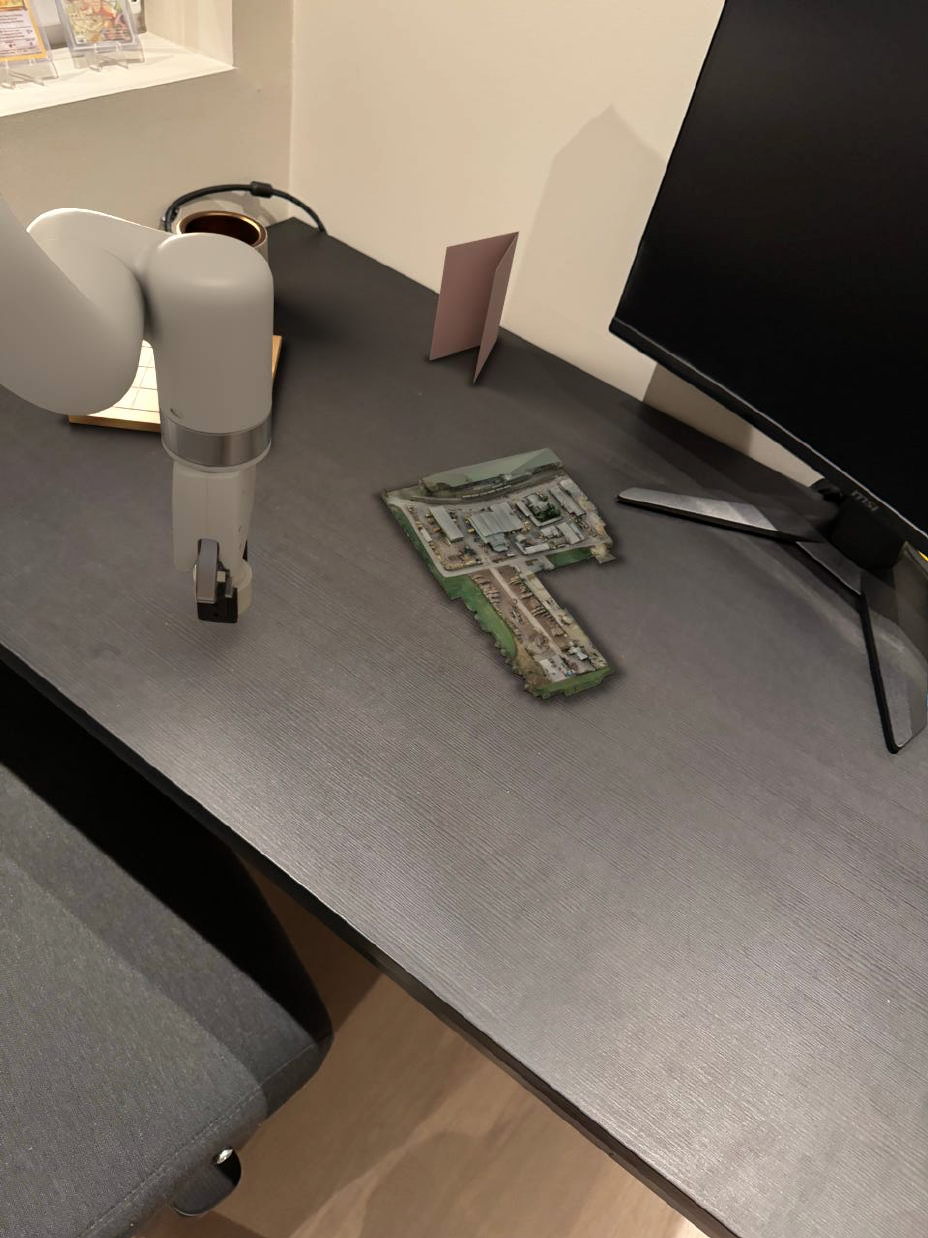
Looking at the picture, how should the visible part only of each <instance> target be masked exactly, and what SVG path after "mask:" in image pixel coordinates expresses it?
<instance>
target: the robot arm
mask: <svg viewBox="0 0 928 1238" xmlns="http://www.w3.org/2000/svg"><path fill="white" fill-rule="evenodd" d="M274 290H275V289H274V277H273V274H272V271H271V268H270V266H269V262H268V263H267V262H266V261H265V259H264V258H263V257H262V255H261V254H260V253H259V252H258V251H256V250H255V249H254V248H252V247H251V246H249V245H248V244H246V243H244V242H242V241H240V240H237V239H235V238H232V237H228V236H224V235H219V234H212V233H188V234H182V235H177V233H173V232H169V231H164V230H160V229H156V228H154V227H150V226H146V225H144V224H140V223H136V222H134V221H129V220H126V219H124V218H120V217H116V216H113V215H109V214H106V213H102V212H99V211H95V210H94V211H93V210H90V209H83V208H74V207H72V208H67V207H66V208H57V209H53V210H50V211H47V212H45V213H43V214H41V215H39V216H38V217H37V218H36V219H35V220H34V221H32V222H31V223H30V225H29V226H28V227H27V229H26V227H25V226H24V225H23V224H22V222H21V220H19V218H18V217H17V215H16V214H15V213H14V211H13V210H12V208H11V207H10V205H9V203H8V202H7V201H6V199H5V197H4V196H3V195H2V193H1V192H0V385H1V386H3V387H4V388H6V389H7V390H9V392H12V393H13V394H15V395H16V396H18V397H19V398H21V399H22V400H25V401H27V402H29V403H30V404H33V405H34V406H36V407H38V408H41V409H44V410H47V411H50V412H53V413H55V414H60V415H65V416H68V415H90V414H96V413H99V412H101V411H104V410H106V409H109V408H111V407H112V406H113V405H115V404H116V403H118V402H119V401H120V400H121V399H122V398H123V397H124V396H125V394H126V393H127V392H128V391H129V390H130V388H131V386H132V384H133V382H134V380H135V378H136V375H137V371H138V366H139V361H140V356H141V350H142V343H143V340H144V341H146V342H147V343H149V344H150V346H151V347H152V350H153V356H154V366H155V376H156V386H157V396H158V406H159V416H160V426H161V432H160V434H161V443H162V446H163V448H164V450H165V452H167V454H168V456H170V457H171V458H172V459H173V466H172V467H173V468H172V485H171V486H172V487H171V504H172V505H171V509H172V510H171V514H172V543H173V563H174V567H175V568H176V570H177V571H178V572H180V573H181V572H184V573H190V572H191V571H192V569H193V568H194V567H195V566H196V599H197V604H196V611H197V619H198V620H200V621H202V622H212V623H219V624H231V625H233V624H235V625H236V624H237V623H238V619H239V615H238V588H235V587H234V575H235V574H237V573H238V572H239V570H240V566H241V562H242V559H244V560H245V561H246V562H247V563H248V561H249V560H248V558H249V557H248V556H249V555H248V554H249V553H248V552H249V551H248V535H249V531H250V527H251V526H250V525H251V521H252V515H253V509H254V503H255V493H256V479H257V464H258V463H259V462H261V461H262V460H263V459H264V458H265V457H266V456H267V455H268V453H269V451H270V449H271V445H272V413H273V412H272V411H273V410H272V409H273V407H272V406H273V387H272V352H273V335H274V302H275V301H274V297H275V293H274V292H275V291H274ZM219 556H220V558H219ZM248 564H249V563H248ZM218 571H222V572H225V582H221V581H217V575H218Z"/></svg>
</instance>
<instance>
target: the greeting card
mask: <svg viewBox="0 0 928 1238" xmlns="http://www.w3.org/2000/svg"><path fill="white" fill-rule="evenodd" d="M519 235H520V230H519V231H513V232H509V233H504V234H499V235H495V236H490V237H485V238H482V239H478V240H472V241H468V242H463V243H459V244H454V245H449V246H446V250H445V255H444V260H443V261H444V262H443V266H442V267H443V268H442V273H441V274H442V275H441V280H440V281H441V282H440V288H439V296H438V302H437V308H436V309H437V310H436V315H435V323H434V329H433V334H432V335H433V336H432V344H431V349H430V356H429V361H432V360H436V359H439V358H440V359H441V358H443V357H445V356H446V357H447V356H449V355H452V354H457V353H459V352H462V351H466V350H469V349H473V348H476V347H479V346H480V348H479V353H478V357H477V363H476V369H475V372H474V373H475V374H474V377H473V378H474V379H473V383H476V380H477V378H478V376H479V374H480V372H481V370H483V369H482V368H483V367H484V365H485V363H486V361H487V359H488V357H489V355H490V354H491V351H492V350H493V348H494V345H495V344H496V342H497V339H498V334H499V329H500V326H501V320H502V314H503V310H504V306H505V302H506V297H507V291H508V286H509V282H510V278H511V273H512V268H513V263H514V258H515V253H516V249H517V244H518V240H519Z"/></svg>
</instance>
